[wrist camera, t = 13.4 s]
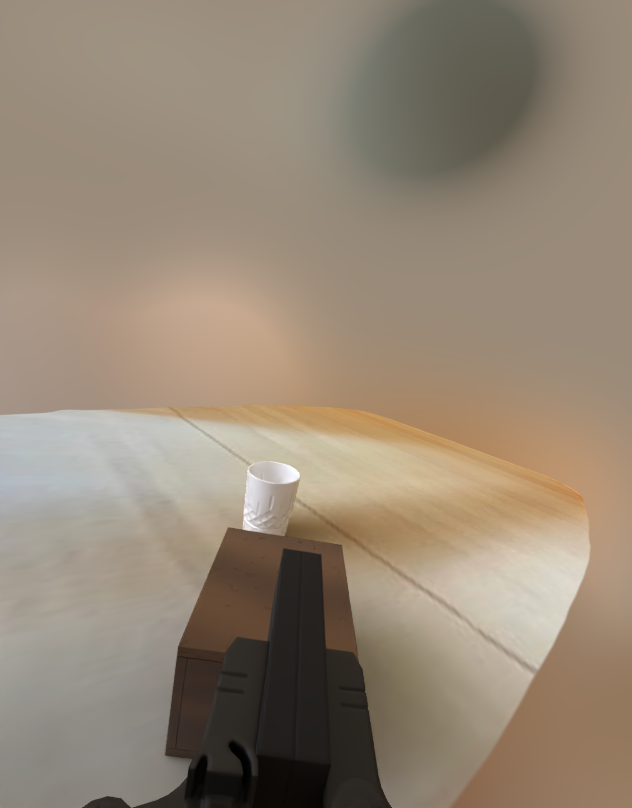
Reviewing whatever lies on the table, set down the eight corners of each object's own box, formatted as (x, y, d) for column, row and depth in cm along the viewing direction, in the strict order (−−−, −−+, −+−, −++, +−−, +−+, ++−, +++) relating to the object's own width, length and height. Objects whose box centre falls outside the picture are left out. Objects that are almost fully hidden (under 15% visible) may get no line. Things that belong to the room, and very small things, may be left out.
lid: (227, 533, 37) (228, 527, 37) (340, 551, 38) (341, 544, 38) (176, 656, 23) (177, 646, 23) (358, 680, 24) (360, 671, 24)
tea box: (215, 608, 38) (225, 538, 36) (326, 624, 39) (341, 556, 37) (164, 755, 25) (176, 656, 23) (333, 775, 26) (357, 681, 24)
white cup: (297, 527, 56) (307, 470, 54) (276, 553, 49) (288, 489, 47) (254, 512, 59) (263, 456, 57) (228, 534, 51) (237, 472, 49)
